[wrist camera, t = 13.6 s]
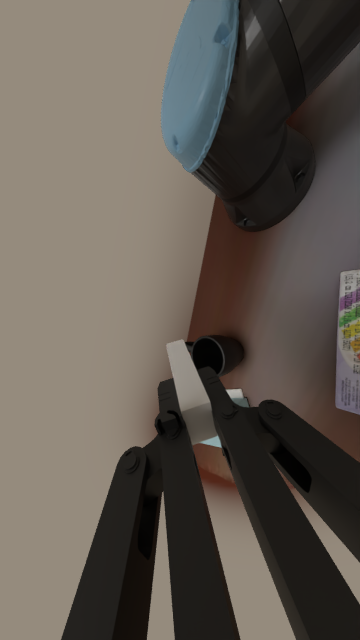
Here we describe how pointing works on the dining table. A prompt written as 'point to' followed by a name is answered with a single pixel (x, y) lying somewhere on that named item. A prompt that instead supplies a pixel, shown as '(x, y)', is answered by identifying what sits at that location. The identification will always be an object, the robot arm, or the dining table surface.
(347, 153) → the dining table surface
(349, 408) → the cake pan box
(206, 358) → the mug
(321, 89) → the dining table surface
